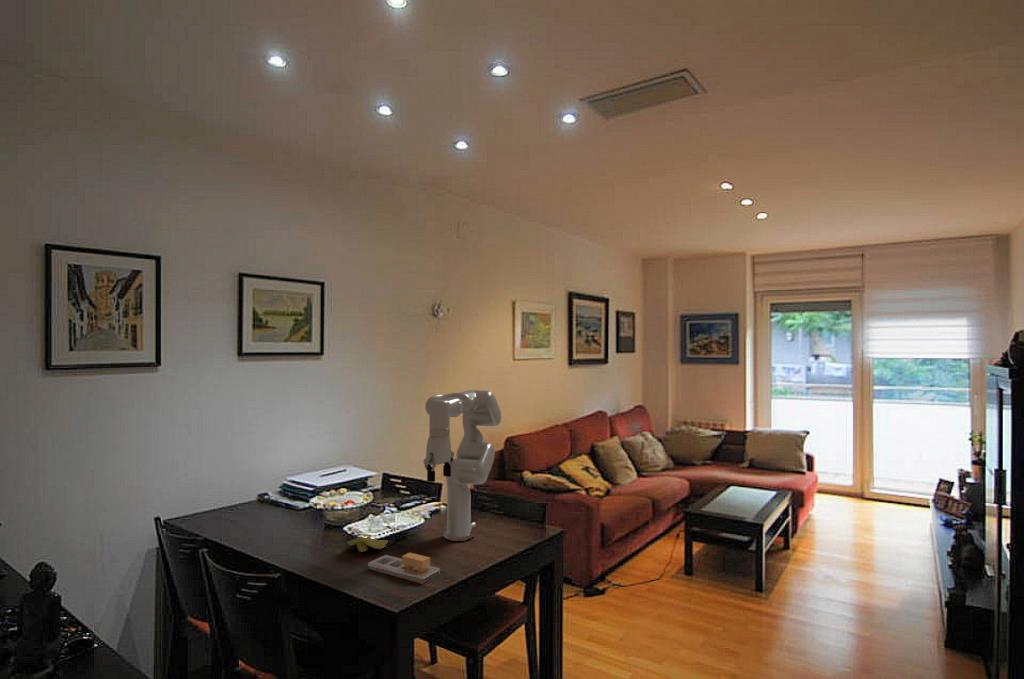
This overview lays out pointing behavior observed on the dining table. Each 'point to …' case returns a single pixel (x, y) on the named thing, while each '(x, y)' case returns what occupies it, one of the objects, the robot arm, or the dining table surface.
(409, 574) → the grey slotted tray
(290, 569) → the dining table surface
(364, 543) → the banana bunch
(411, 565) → the tan rectangular block
